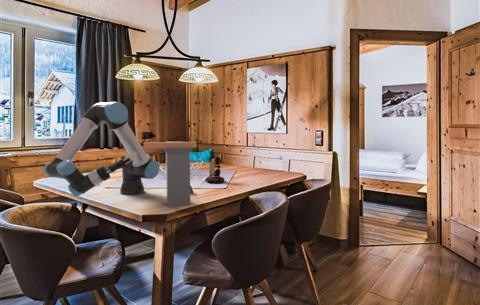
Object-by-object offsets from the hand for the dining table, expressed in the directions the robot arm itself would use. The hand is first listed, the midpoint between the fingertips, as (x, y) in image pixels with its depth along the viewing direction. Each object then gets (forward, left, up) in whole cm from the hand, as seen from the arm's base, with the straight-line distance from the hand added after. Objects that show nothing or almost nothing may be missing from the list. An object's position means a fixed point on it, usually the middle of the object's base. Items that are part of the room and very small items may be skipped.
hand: (136, 154), depth 168 cm
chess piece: (-59, +56, -29) cm, 87 cm away
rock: (-26, +29, -29) cm, 49 cm away
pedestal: (0, +22, -29) cm, 36 cm away
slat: (0, +18, +3) cm, 18 cm away
